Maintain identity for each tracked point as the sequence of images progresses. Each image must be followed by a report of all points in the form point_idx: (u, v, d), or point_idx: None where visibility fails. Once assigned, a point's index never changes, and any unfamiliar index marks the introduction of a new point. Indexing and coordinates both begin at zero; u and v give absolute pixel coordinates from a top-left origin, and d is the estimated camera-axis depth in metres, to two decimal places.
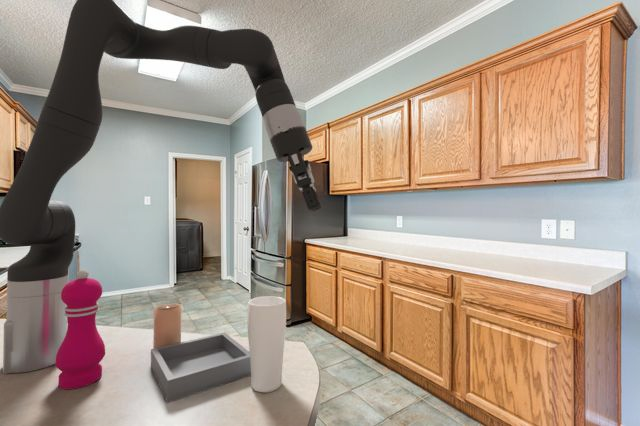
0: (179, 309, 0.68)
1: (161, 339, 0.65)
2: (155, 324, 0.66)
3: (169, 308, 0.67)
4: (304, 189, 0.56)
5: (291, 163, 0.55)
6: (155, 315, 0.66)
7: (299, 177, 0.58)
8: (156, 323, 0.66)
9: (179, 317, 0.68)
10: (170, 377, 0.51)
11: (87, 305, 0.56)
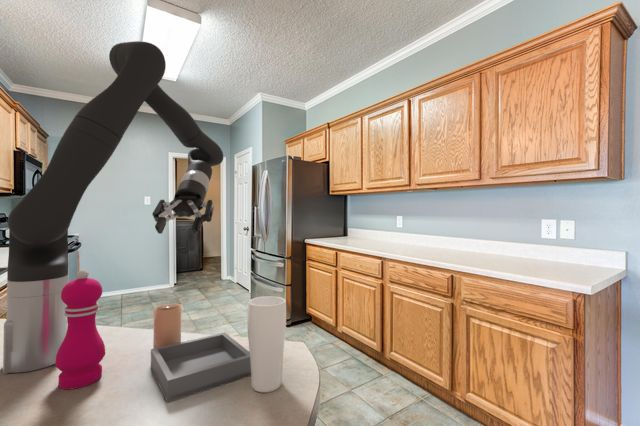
0: (179, 309, 0.68)
1: (161, 339, 0.65)
2: (155, 324, 0.66)
3: (169, 308, 0.67)
4: (202, 219, 0.80)
5: (211, 204, 0.83)
6: (155, 315, 0.66)
7: None
8: (156, 323, 0.66)
9: (179, 317, 0.68)
10: (170, 377, 0.51)
11: (87, 305, 0.56)
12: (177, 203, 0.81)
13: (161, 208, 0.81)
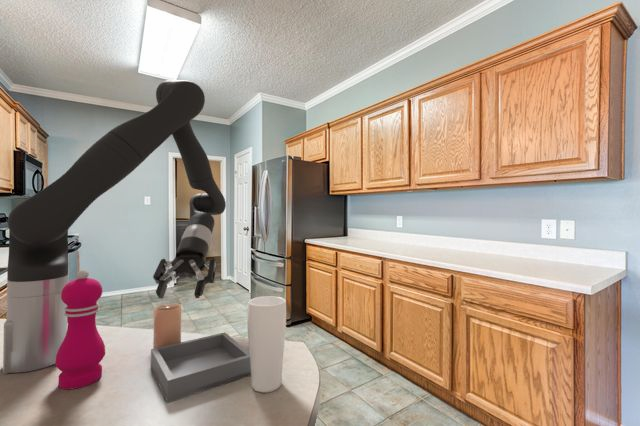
0: (179, 309, 0.68)
1: (161, 339, 0.65)
2: (155, 324, 0.66)
3: (169, 308, 0.67)
4: (204, 281, 0.77)
5: (214, 264, 0.80)
6: (155, 315, 0.66)
7: (200, 272, 0.79)
8: (156, 323, 0.66)
9: (179, 317, 0.68)
10: (170, 377, 0.51)
11: (87, 305, 0.56)
12: (179, 264, 0.79)
13: (162, 269, 0.79)
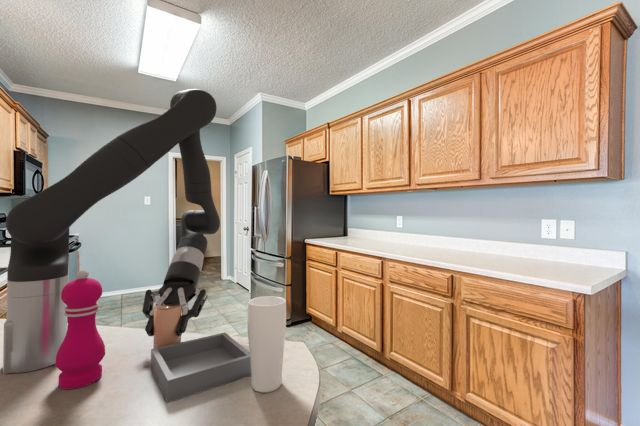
0: (179, 309, 0.68)
1: (161, 339, 0.65)
2: (155, 324, 0.66)
3: (169, 308, 0.67)
4: (188, 316, 0.69)
5: (203, 296, 0.72)
6: (155, 315, 0.66)
7: (186, 304, 0.71)
8: (156, 323, 0.66)
9: (179, 317, 0.68)
10: (170, 377, 0.51)
11: (87, 305, 0.56)
12: (167, 293, 0.71)
13: (150, 301, 0.71)
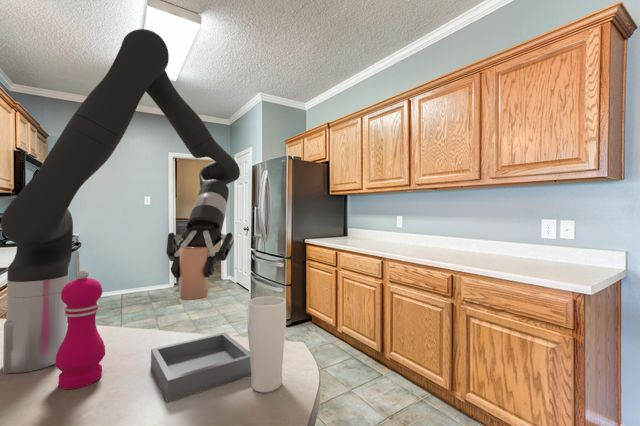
0: (206, 250, 0.63)
1: (188, 280, 0.61)
2: (182, 264, 0.61)
3: (196, 247, 0.62)
4: (215, 258, 0.64)
5: (230, 239, 0.68)
6: (182, 254, 0.61)
7: None
8: (182, 262, 0.61)
9: None
10: (170, 377, 0.51)
11: (87, 305, 0.56)
12: (192, 235, 0.67)
13: (174, 243, 0.66)
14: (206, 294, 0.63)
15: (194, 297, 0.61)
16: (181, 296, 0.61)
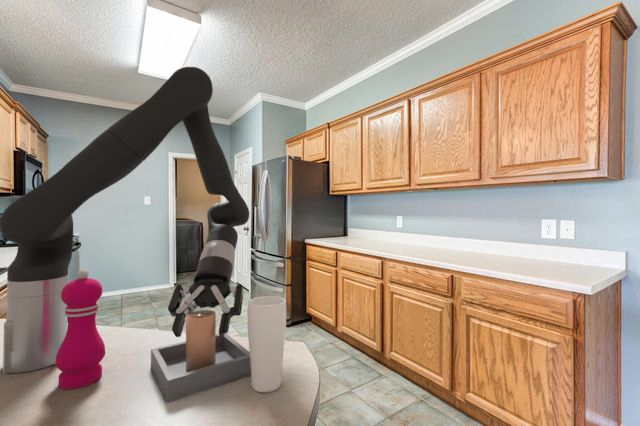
0: (214, 316, 0.60)
1: (195, 351, 0.58)
2: (188, 334, 0.58)
3: (203, 316, 0.59)
4: (230, 314, 0.62)
5: (241, 291, 0.65)
6: (188, 324, 0.58)
7: None
8: (189, 333, 0.58)
9: (214, 326, 0.60)
10: (170, 377, 0.51)
11: (87, 305, 0.56)
12: (199, 291, 0.64)
13: (178, 298, 0.64)
14: (214, 363, 0.60)
15: None
16: (188, 368, 0.58)
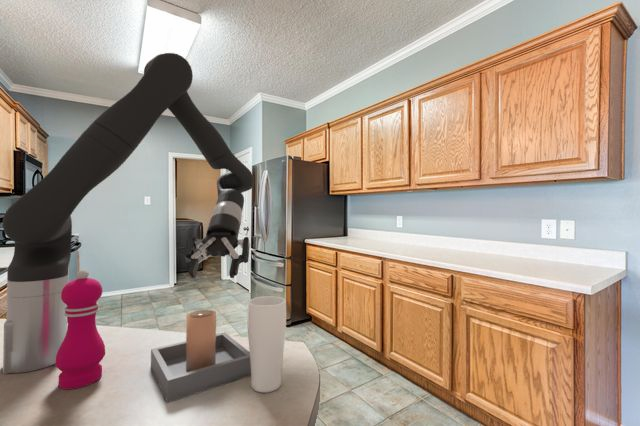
0: (214, 316, 0.60)
1: (195, 351, 0.58)
2: (188, 334, 0.58)
3: (204, 315, 0.59)
4: (239, 260, 0.71)
5: (248, 242, 0.75)
6: (188, 323, 0.58)
7: None
8: (189, 332, 0.58)
9: (215, 326, 0.61)
10: (170, 377, 0.51)
11: (87, 305, 0.56)
12: (211, 242, 0.73)
13: (193, 247, 0.73)
14: (214, 363, 0.60)
15: None
16: (188, 368, 0.58)
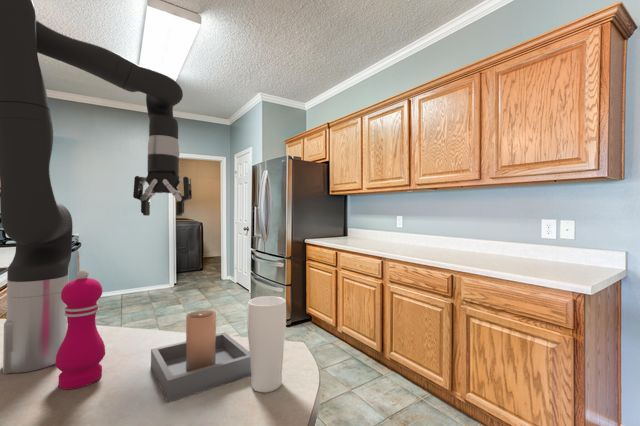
0: (214, 317, 0.60)
1: (195, 351, 0.58)
2: (188, 334, 0.58)
3: (204, 316, 0.59)
4: (183, 201, 0.83)
5: (188, 182, 0.83)
6: (188, 324, 0.58)
7: (177, 191, 0.83)
8: (189, 333, 0.58)
9: (214, 326, 0.60)
10: (170, 377, 0.51)
11: (87, 305, 0.56)
12: (153, 184, 0.81)
13: (139, 187, 0.82)
14: (214, 363, 0.60)
15: None
16: (188, 368, 0.58)
